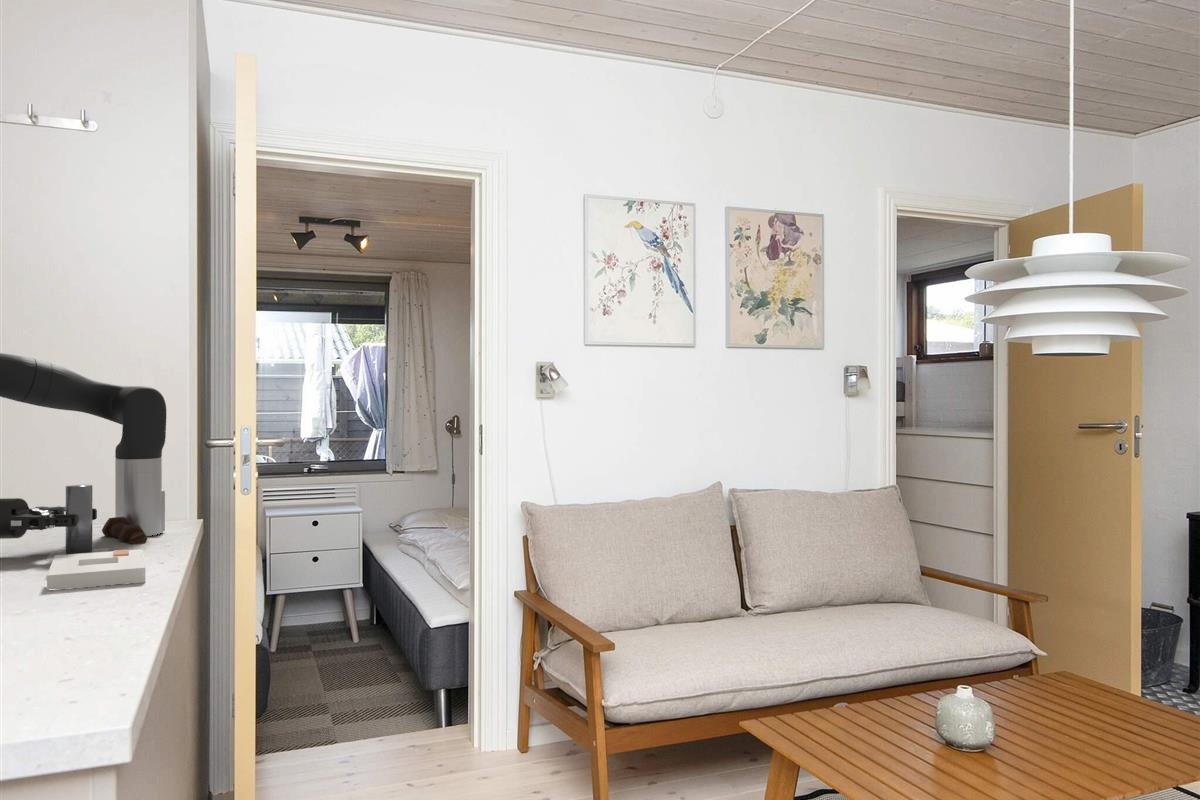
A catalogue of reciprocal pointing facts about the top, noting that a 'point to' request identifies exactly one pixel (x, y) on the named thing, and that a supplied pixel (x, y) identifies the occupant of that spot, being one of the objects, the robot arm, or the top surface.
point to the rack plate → (96, 569)
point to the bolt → (124, 531)
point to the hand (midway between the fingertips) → (86, 517)
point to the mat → (52, 554)
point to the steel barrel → (79, 519)
